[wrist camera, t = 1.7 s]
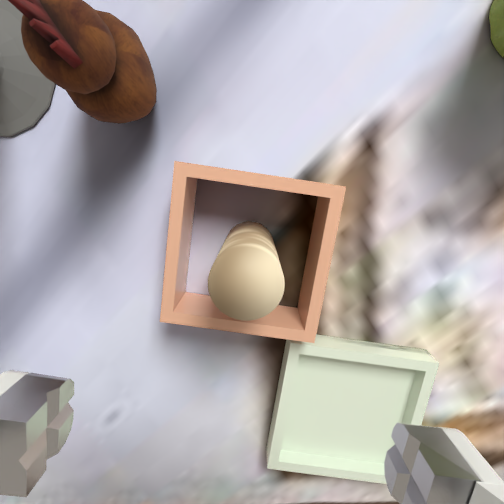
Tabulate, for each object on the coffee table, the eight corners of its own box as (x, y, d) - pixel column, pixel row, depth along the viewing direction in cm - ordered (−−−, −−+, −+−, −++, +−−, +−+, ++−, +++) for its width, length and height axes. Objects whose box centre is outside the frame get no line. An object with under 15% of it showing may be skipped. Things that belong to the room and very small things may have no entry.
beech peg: (277, 224, 31) (290, 253, 19) (269, 271, 32) (277, 325, 20) (228, 217, 31) (212, 241, 19) (222, 264, 32) (203, 315, 20)
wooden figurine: (85, 54, 28) (-104, -86, 13) (151, 37, 27) (33, -126, 13) (110, 137, 29) (-36, 94, 15) (173, 121, 29) (89, 62, 14)
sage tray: (425, 349, 33) (439, 363, 31) (393, 465, 36) (403, 486, 34) (287, 330, 33) (290, 342, 30) (266, 448, 36) (267, 468, 33)
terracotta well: (331, 185, 30) (346, 186, 25) (305, 318, 33) (314, 343, 28) (187, 164, 30) (174, 161, 25) (174, 300, 32) (159, 321, 27)
